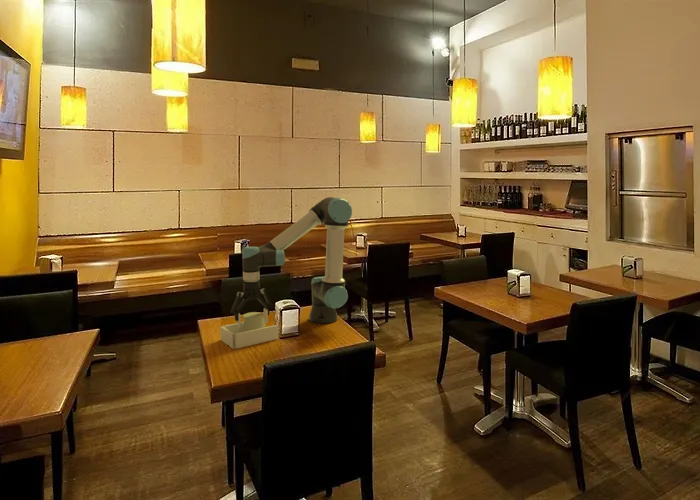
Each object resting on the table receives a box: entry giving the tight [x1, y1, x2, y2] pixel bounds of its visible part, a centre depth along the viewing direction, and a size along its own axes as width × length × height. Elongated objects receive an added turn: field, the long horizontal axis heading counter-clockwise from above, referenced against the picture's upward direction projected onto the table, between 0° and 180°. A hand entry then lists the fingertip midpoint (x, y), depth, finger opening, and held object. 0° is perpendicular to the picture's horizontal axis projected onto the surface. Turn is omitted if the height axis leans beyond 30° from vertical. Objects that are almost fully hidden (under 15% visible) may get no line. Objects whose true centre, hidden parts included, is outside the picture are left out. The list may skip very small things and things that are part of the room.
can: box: [242, 311, 264, 332], centre depth 217 cm, size 9×9×12 cm
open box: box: [219, 317, 279, 350], centre depth 217 cm, size 22×15×6 cm
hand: (252, 324), depth 217 cm, fingers open, 13 cm apart
